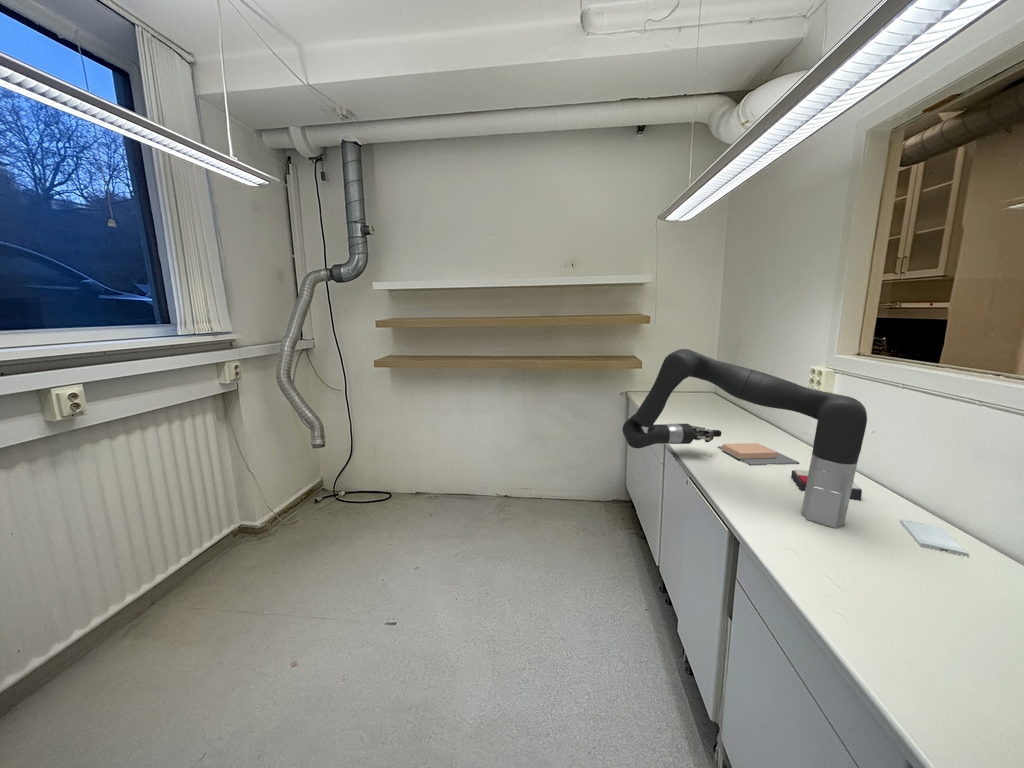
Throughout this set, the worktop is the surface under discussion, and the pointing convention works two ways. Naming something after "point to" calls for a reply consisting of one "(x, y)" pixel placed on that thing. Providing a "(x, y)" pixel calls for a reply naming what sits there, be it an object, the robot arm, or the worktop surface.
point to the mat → (769, 460)
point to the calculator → (801, 481)
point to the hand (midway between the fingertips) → (719, 433)
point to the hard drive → (932, 537)
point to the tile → (749, 451)
